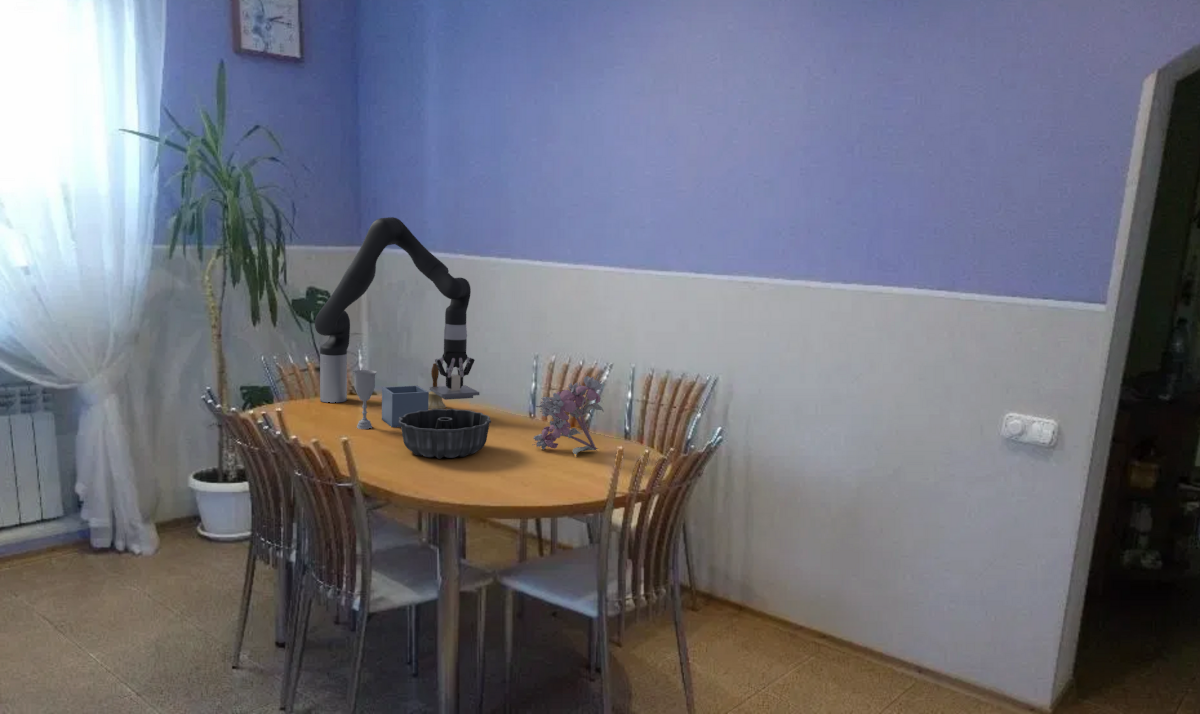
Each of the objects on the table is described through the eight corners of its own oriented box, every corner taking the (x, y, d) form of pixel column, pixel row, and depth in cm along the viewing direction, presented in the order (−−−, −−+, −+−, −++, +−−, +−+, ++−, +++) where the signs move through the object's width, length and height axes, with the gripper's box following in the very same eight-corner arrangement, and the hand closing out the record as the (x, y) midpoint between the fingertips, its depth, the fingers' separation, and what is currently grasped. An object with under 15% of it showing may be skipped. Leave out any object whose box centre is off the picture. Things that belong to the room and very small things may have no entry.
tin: (381, 419, 285) (382, 387, 283) (416, 417, 291) (417, 385, 289) (391, 427, 275) (392, 394, 273) (428, 424, 281) (428, 392, 279)
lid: (429, 393, 292) (429, 372, 291) (465, 391, 299) (466, 371, 298) (442, 400, 281) (442, 379, 280) (479, 398, 288) (479, 377, 287)
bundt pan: (406, 466, 232) (406, 430, 231) (391, 442, 256) (391, 410, 255) (500, 461, 242) (501, 426, 241) (477, 438, 266) (478, 407, 265)
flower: (578, 432, 273) (550, 365, 264) (629, 440, 257) (601, 368, 248) (535, 469, 261) (504, 399, 252) (586, 479, 245) (555, 405, 236)
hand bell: (446, 409, 305) (447, 365, 303) (423, 409, 303) (423, 365, 301) (445, 404, 313) (446, 361, 311) (422, 404, 311) (423, 361, 309)
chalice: (379, 425, 276) (379, 370, 274) (371, 430, 270) (372, 374, 267) (357, 424, 277) (357, 369, 274) (349, 429, 270) (349, 372, 268)
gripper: (471, 335, 294) (469, 385, 296) (431, 336, 287) (430, 387, 289) (479, 338, 287) (477, 388, 290) (438, 339, 280) (437, 391, 283)
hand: (454, 387), depth 290 cm, fingers closed on lid, 3 cm apart
